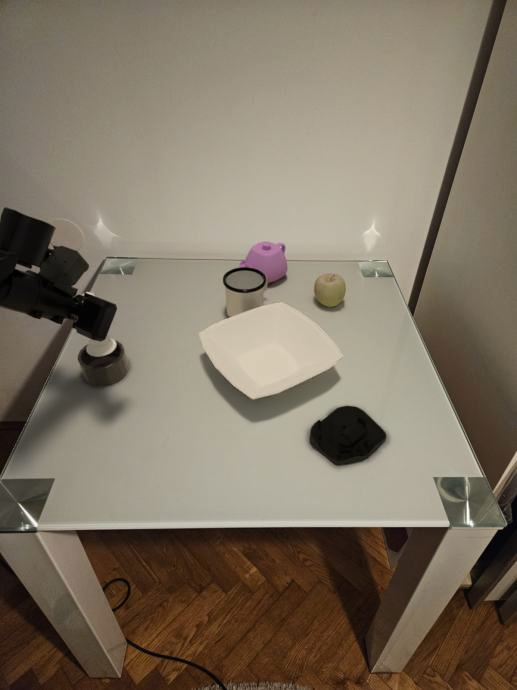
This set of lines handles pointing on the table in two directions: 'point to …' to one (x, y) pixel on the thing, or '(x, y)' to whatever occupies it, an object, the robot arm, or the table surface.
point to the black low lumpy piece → (346, 435)
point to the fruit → (330, 289)
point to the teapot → (267, 260)
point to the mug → (244, 289)
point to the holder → (103, 366)
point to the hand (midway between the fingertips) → (98, 314)
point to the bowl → (269, 349)
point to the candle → (100, 344)
